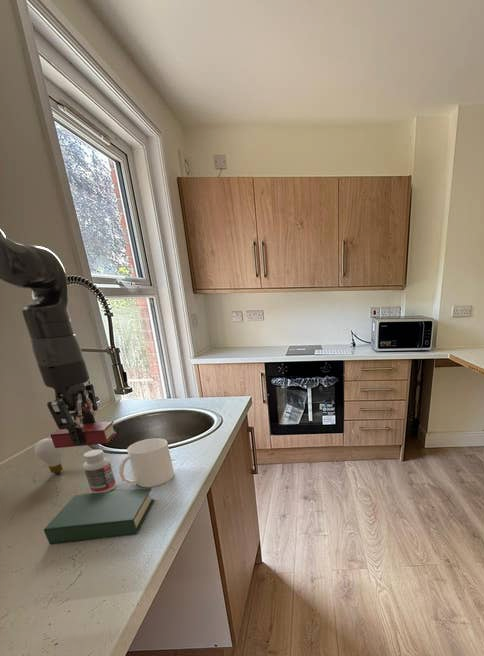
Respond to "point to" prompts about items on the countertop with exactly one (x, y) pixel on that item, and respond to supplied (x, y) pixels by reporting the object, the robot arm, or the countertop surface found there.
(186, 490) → the countertop surface
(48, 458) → the light bulb
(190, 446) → the countertop surface
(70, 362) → the robot arm
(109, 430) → the pocket book
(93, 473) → the pill bottle
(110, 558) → the countertop surface
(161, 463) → the mug
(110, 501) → the hardback
